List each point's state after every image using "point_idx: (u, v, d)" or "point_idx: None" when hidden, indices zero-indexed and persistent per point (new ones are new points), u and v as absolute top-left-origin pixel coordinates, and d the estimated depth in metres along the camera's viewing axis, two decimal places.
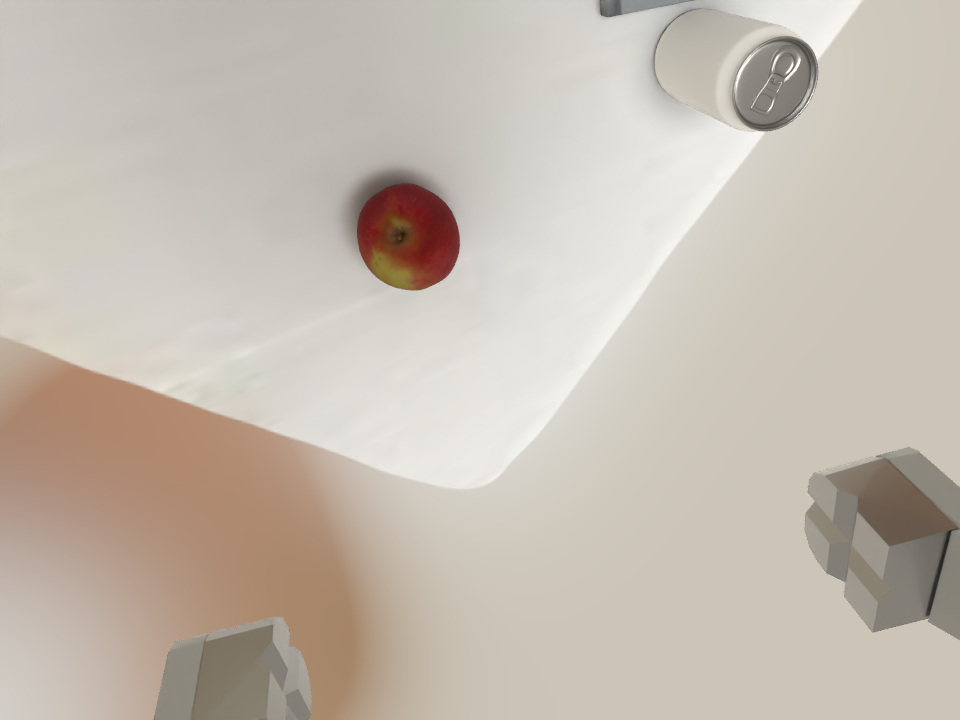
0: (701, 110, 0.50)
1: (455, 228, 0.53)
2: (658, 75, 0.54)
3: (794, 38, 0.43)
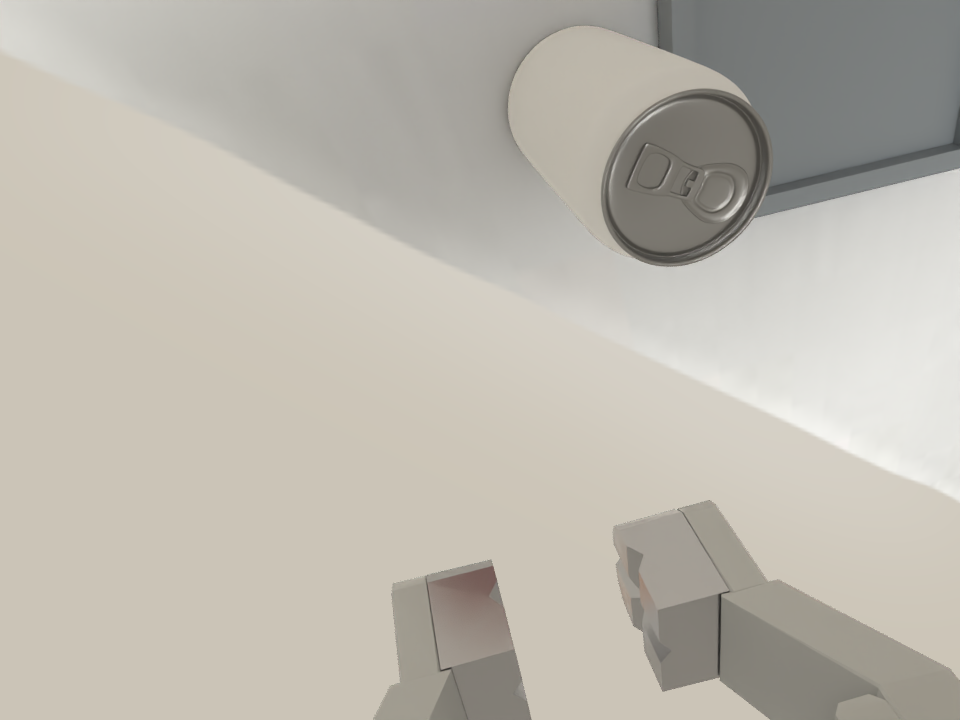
0: (562, 88, 0.26)
1: None
2: (557, 34, 0.30)
3: (763, 195, 0.23)
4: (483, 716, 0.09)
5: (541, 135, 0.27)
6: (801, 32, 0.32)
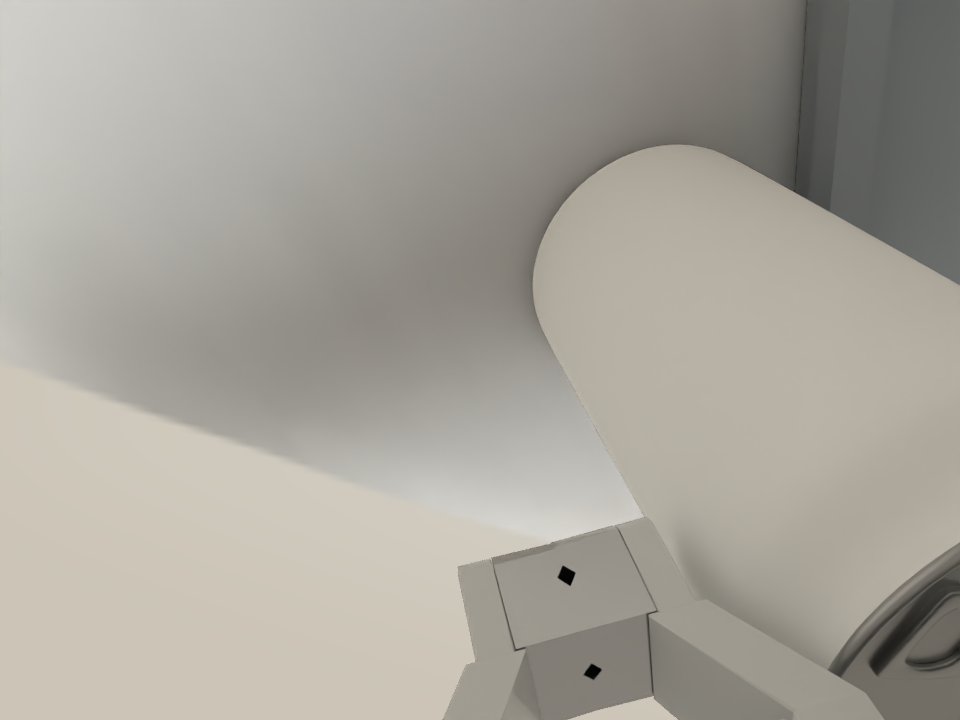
0: (668, 331, 0.12)
1: None
2: (626, 164, 0.16)
3: None
4: (553, 696, 0.09)
5: (615, 409, 0.13)
6: None
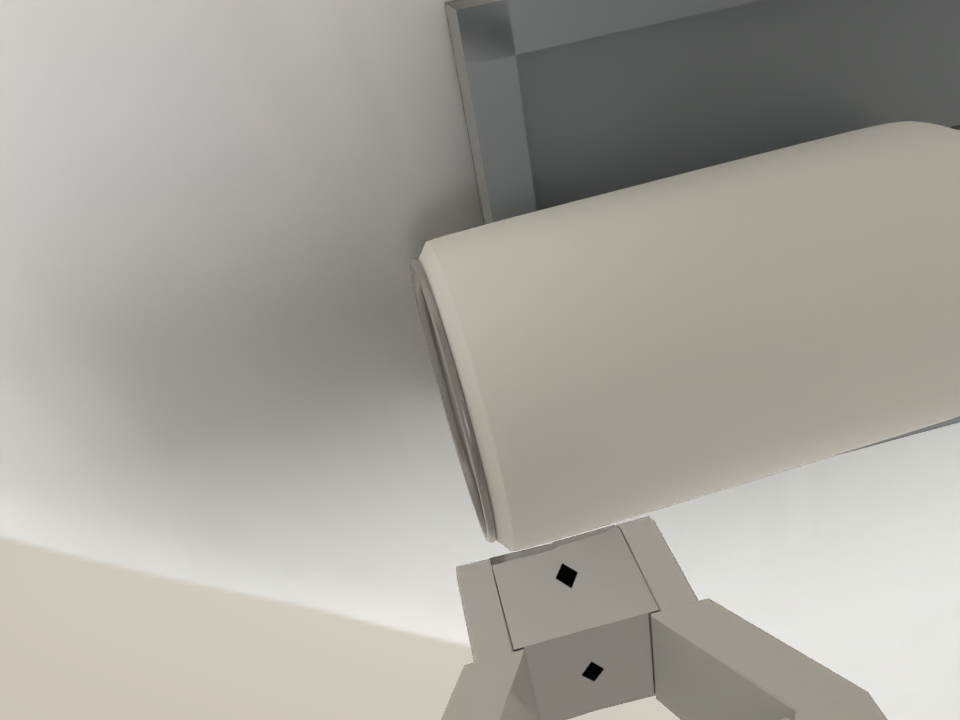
0: (812, 233, 0.12)
1: None
2: (467, 250, 0.13)
3: None
4: (551, 697, 0.09)
5: (830, 337, 0.12)
6: None
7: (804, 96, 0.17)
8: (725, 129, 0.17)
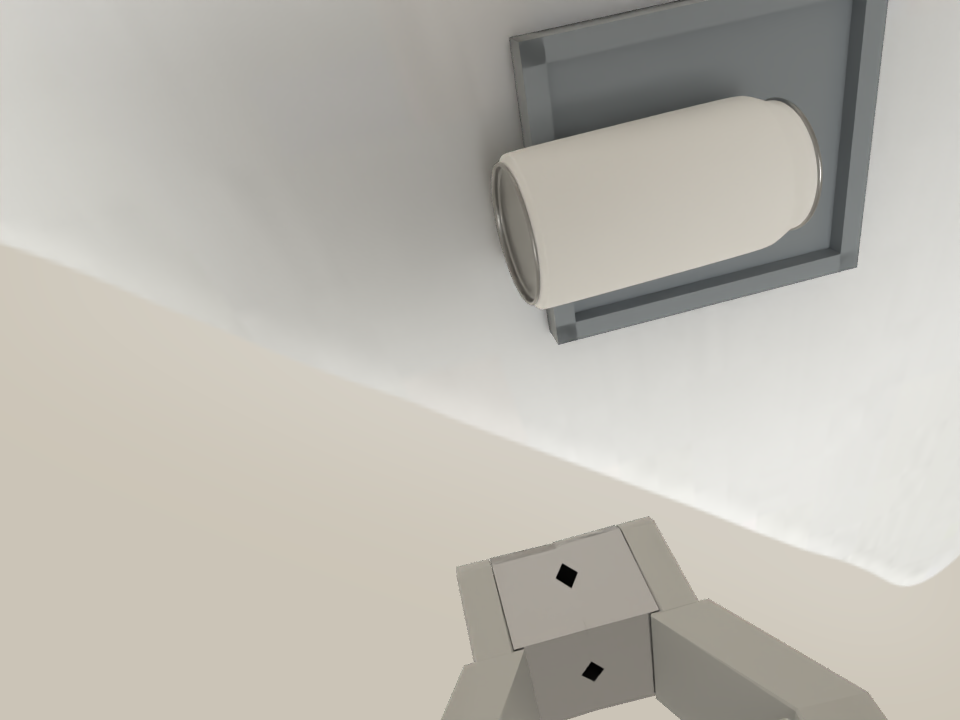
0: (684, 143, 0.27)
1: None
2: (526, 154, 0.27)
3: None
4: (551, 697, 0.09)
5: (692, 189, 0.27)
6: None
7: (695, 85, 0.31)
8: (653, 102, 0.31)
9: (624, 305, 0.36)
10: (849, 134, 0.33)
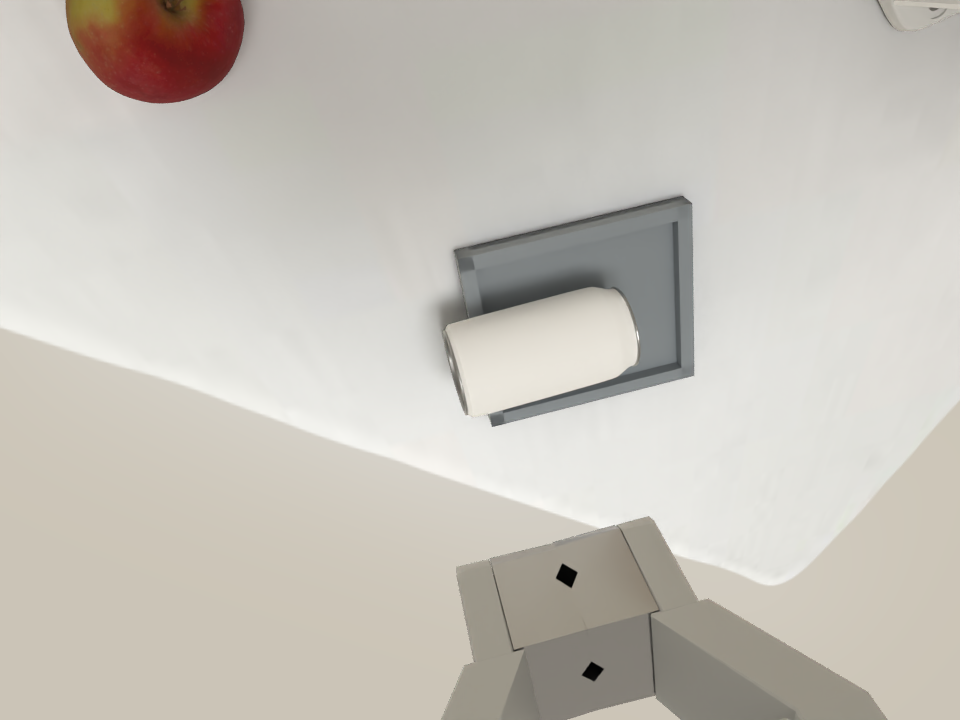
0: (553, 326, 0.46)
1: (191, 96, 0.36)
2: (459, 330, 0.46)
3: None
4: (551, 697, 0.09)
5: (556, 355, 0.45)
6: None
7: (573, 272, 0.50)
8: (547, 283, 0.50)
9: (536, 401, 0.54)
10: (678, 297, 0.52)
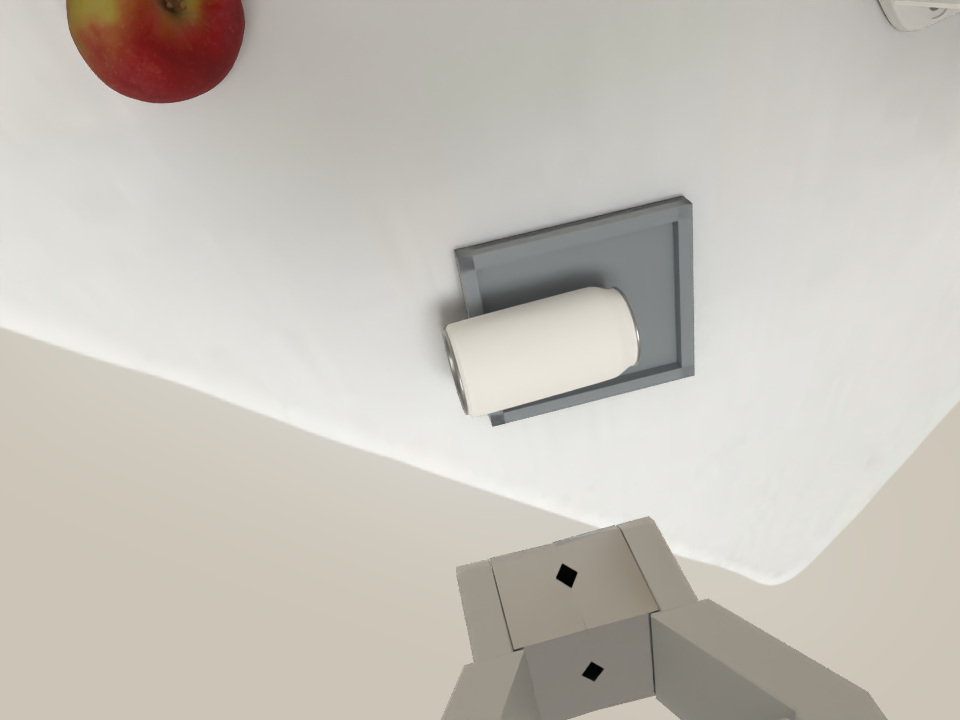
0: (553, 326, 0.46)
1: (192, 95, 0.36)
2: (460, 330, 0.46)
3: None
4: (551, 697, 0.09)
5: (556, 354, 0.45)
6: None
7: (573, 272, 0.50)
8: (547, 283, 0.50)
9: (536, 401, 0.54)
10: (678, 297, 0.52)
